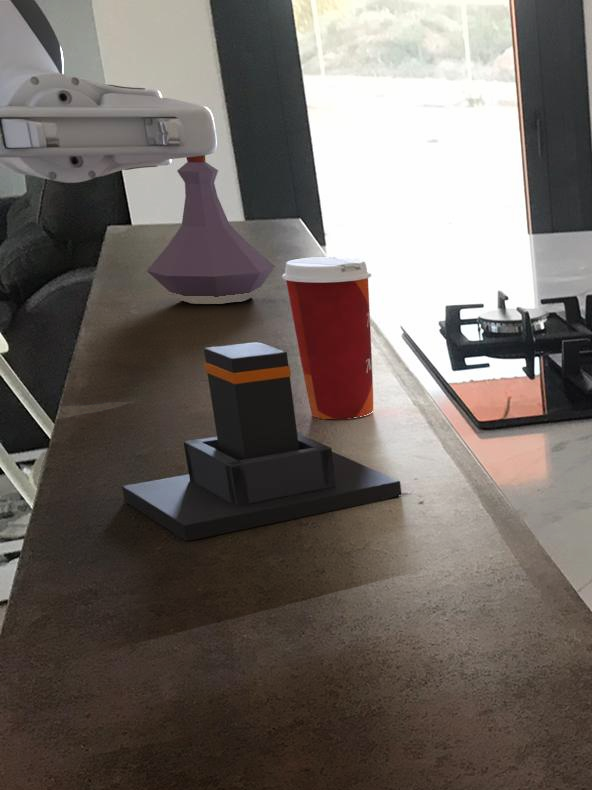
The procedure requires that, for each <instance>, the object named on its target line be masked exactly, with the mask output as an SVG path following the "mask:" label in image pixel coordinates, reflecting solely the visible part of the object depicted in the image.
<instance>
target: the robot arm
mask: <svg viewBox="0 0 592 790" xmlns="http://www.w3.org/2000/svg"><path fill="white" fill-rule="evenodd" d="M62 50H63V49H62V47H61V44H60V41H59V39H58V37H57V35H56V33H55V31H54V28H53V26H52V25H51V23H50V21H49V20H48V18H47V16H46V14H45V13H44V12H43V9H41V7H40V6H39V4H38V3H37V1H36V0H0V167H1V168H4V169H5V170H8V171H11V172H14V173H16V174H21V175H25V176H30V177H31V176H32V177H35V178H36V177H37V178H40V179H44V180H49V181H54V182H59V183H64V184H65V183H66V184H76V183H83V182H87V181H90V180H93V179H95V178H100V177H104V176H108V175H111V174H114V173H117V172H120V171H129V170H135V169H143V168H144V169H145V168H156V167H158V166H168V165H170V164H171V163H172V160H175V159H184V158H186V157H194V156H202V155H205V156H209V155H213V154H215V152H216V151H217V148H218V141H217V131H216V125H215V119H214V116H213V113H212V111H211V110H210V109H209V108H208V107H206V106H204V105H200V104H196V103H191V102H189V101H184V100H181V99H174V98H170V97H163V96H162V94H161V92H160V91H159V89H151V88H148V89H147V88H145V87H130V86H121V85H115V84H104V83H100V82H98V81H95V80H91V79H87V78H85V77H81V76H80V77H79V76H78V77H77V76H73V75H70V74H67V73H64V55H63V51H62ZM186 159H187V158H186Z"/></svg>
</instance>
